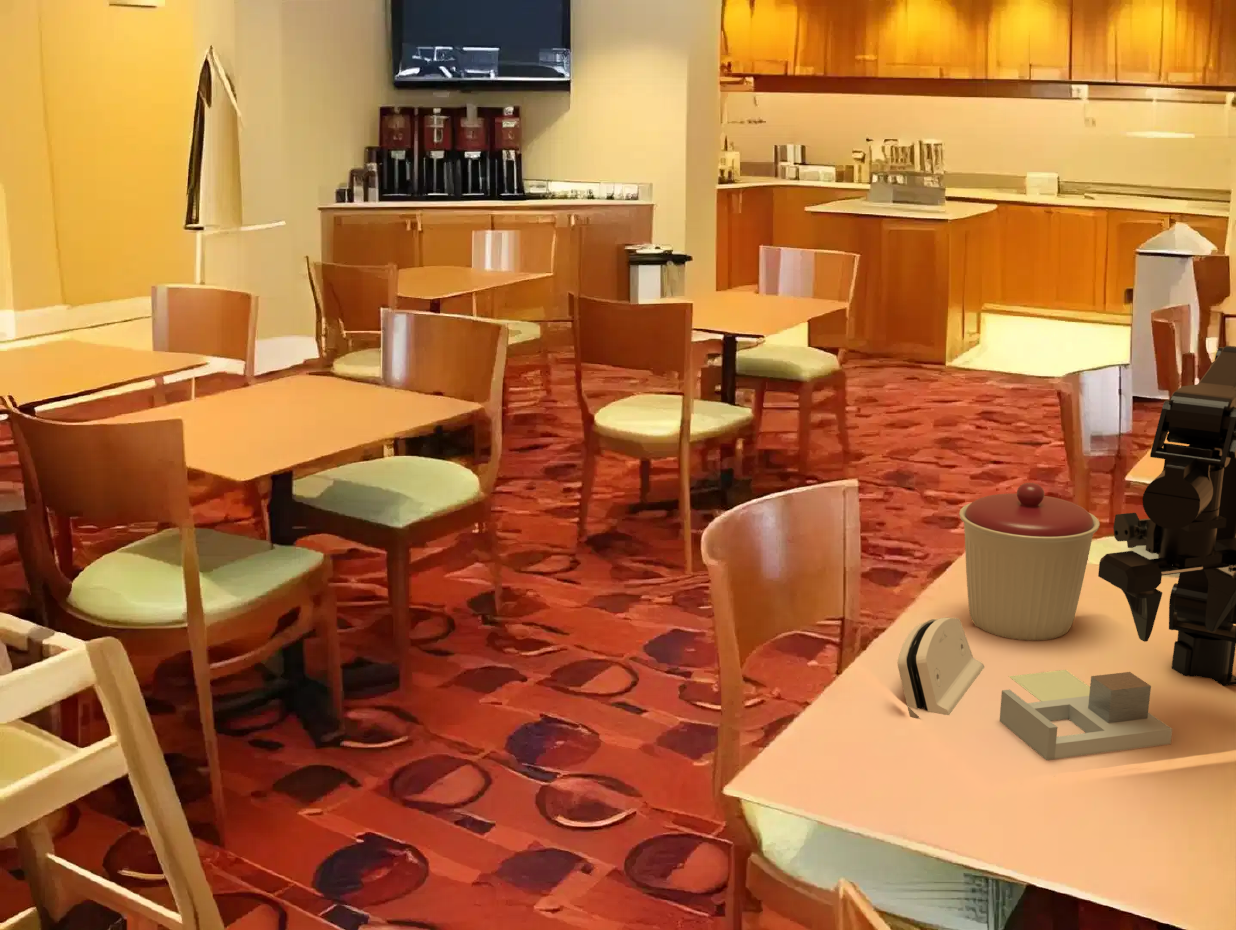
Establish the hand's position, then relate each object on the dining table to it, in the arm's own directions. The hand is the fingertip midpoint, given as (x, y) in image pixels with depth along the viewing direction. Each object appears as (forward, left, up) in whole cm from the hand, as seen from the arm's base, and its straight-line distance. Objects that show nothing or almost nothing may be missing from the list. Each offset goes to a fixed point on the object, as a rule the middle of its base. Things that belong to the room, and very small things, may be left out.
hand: (1177, 635), depth 154 cm
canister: (+1, -32, -12) cm, 34 cm away
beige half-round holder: (+21, -16, -12) cm, 29 cm away
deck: (+11, 0, -12) cm, 16 cm away
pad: (+7, -12, -12) cm, 18 cm away
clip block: (+7, 0, -9) cm, 11 cm away
